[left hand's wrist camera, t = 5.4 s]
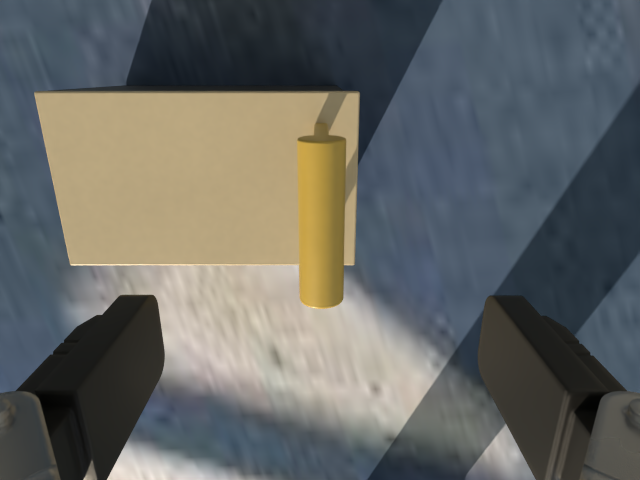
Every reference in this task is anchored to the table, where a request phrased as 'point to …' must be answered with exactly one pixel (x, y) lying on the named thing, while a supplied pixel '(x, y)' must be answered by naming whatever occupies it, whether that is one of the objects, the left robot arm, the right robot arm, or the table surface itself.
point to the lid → (208, 179)
